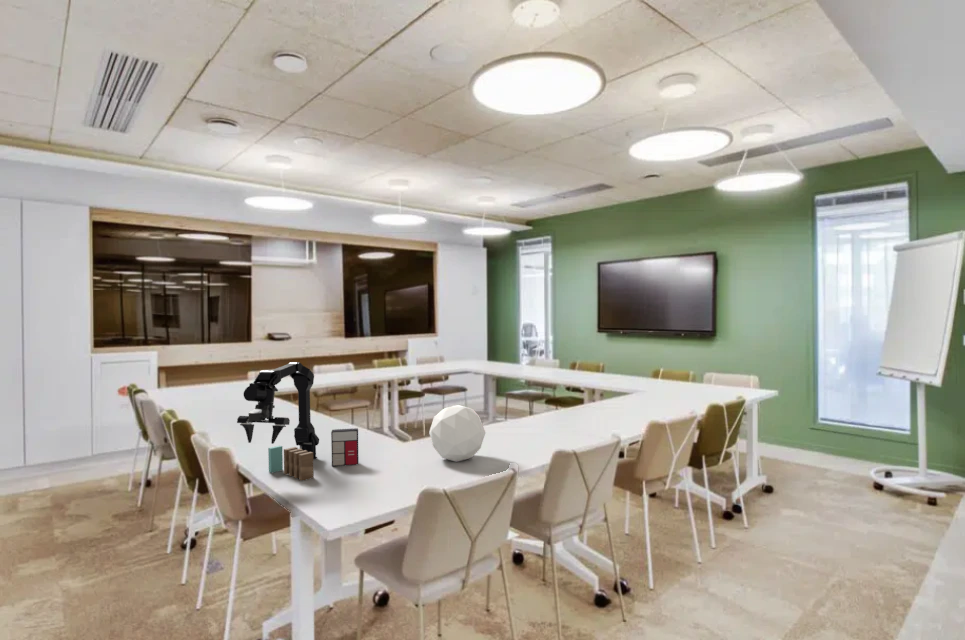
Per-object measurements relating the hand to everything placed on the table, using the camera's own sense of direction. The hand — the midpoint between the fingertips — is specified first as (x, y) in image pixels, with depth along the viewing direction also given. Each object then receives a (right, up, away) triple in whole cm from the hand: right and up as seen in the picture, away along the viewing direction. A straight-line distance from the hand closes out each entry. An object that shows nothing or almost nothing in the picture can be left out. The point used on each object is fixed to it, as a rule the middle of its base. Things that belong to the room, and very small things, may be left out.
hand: (261, 443), depth 204 cm
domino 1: (0, -15, +14) cm, 20 cm away
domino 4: (+13, -15, +6) cm, 21 cm away
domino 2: (+7, -15, +12) cm, 20 cm away
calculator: (+27, -15, +22) cm, 38 cm away
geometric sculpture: (+75, -14, +29) cm, 81 cm away
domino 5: (+16, -15, +4) cm, 22 cm away
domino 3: (+10, -15, +9) cm, 20 cm away
